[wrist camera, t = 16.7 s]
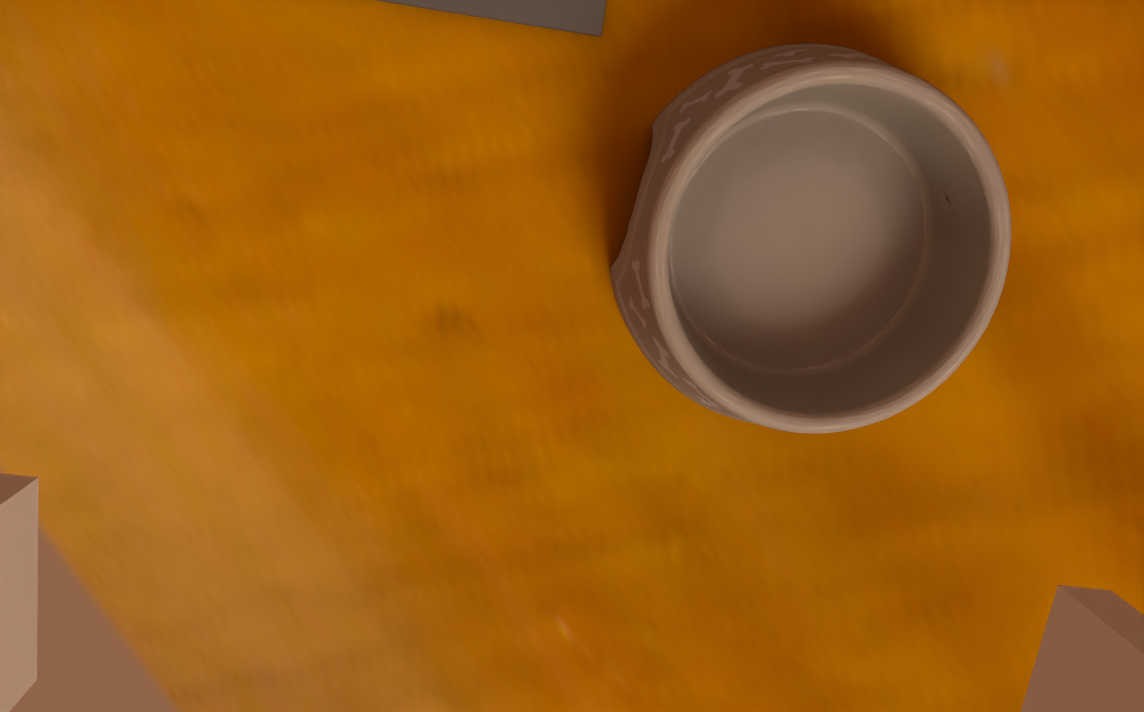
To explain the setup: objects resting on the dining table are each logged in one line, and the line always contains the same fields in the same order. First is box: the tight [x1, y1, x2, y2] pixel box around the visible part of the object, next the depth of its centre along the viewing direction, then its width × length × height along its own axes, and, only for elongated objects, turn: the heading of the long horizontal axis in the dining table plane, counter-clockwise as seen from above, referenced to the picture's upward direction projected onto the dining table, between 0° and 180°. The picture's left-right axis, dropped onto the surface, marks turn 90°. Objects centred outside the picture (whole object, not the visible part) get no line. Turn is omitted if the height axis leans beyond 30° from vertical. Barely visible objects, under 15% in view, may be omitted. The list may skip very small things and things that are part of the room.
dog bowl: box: [610, 43, 1011, 433], centre depth 40 cm, size 17×18×5 cm
